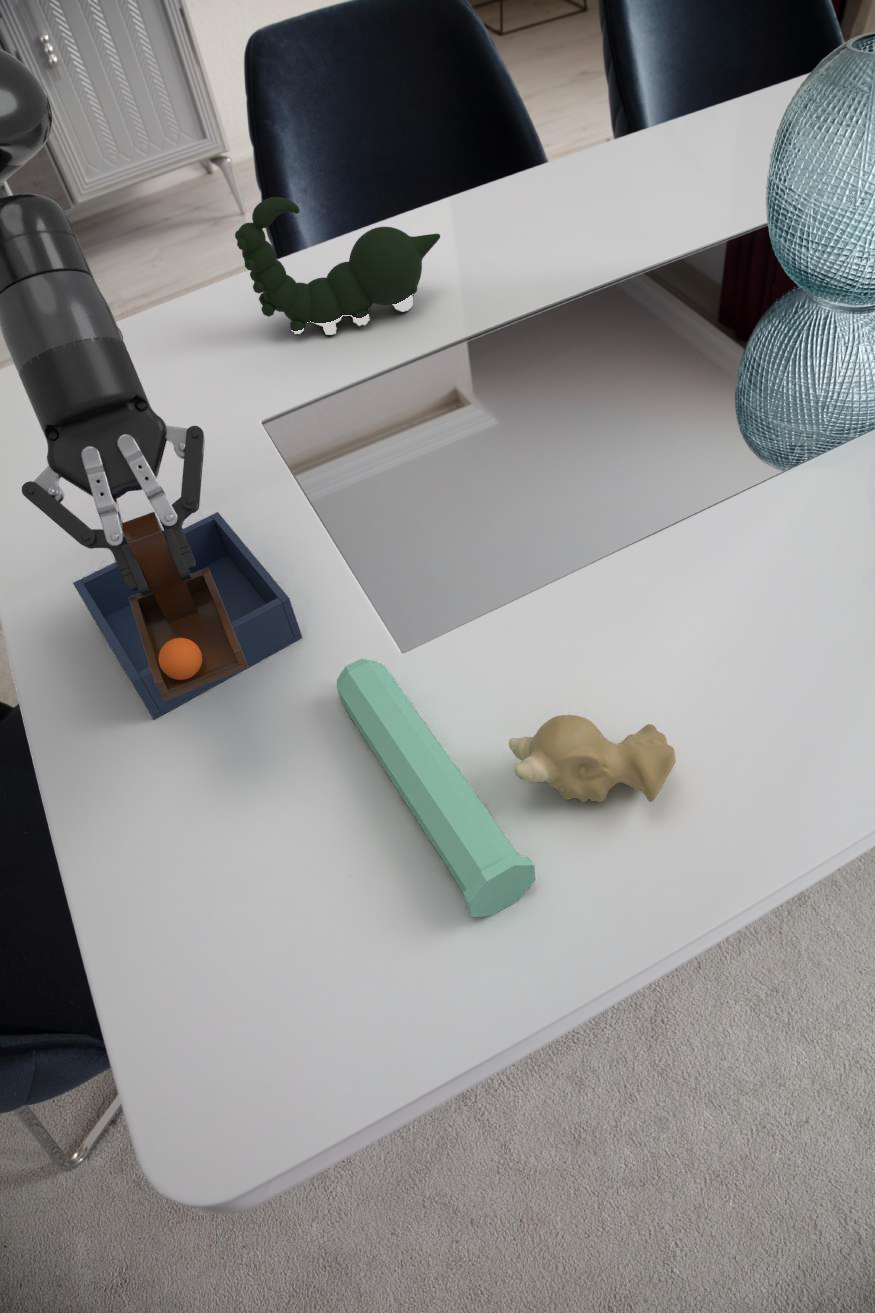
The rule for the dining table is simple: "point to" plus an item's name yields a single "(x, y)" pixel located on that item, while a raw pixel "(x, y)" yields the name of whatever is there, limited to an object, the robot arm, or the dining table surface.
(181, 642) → the toy ball
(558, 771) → the tan toy creature
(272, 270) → the toy figurine
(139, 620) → the scoop
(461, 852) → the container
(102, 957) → the dining table surface
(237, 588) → the tote
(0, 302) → the robot arm
